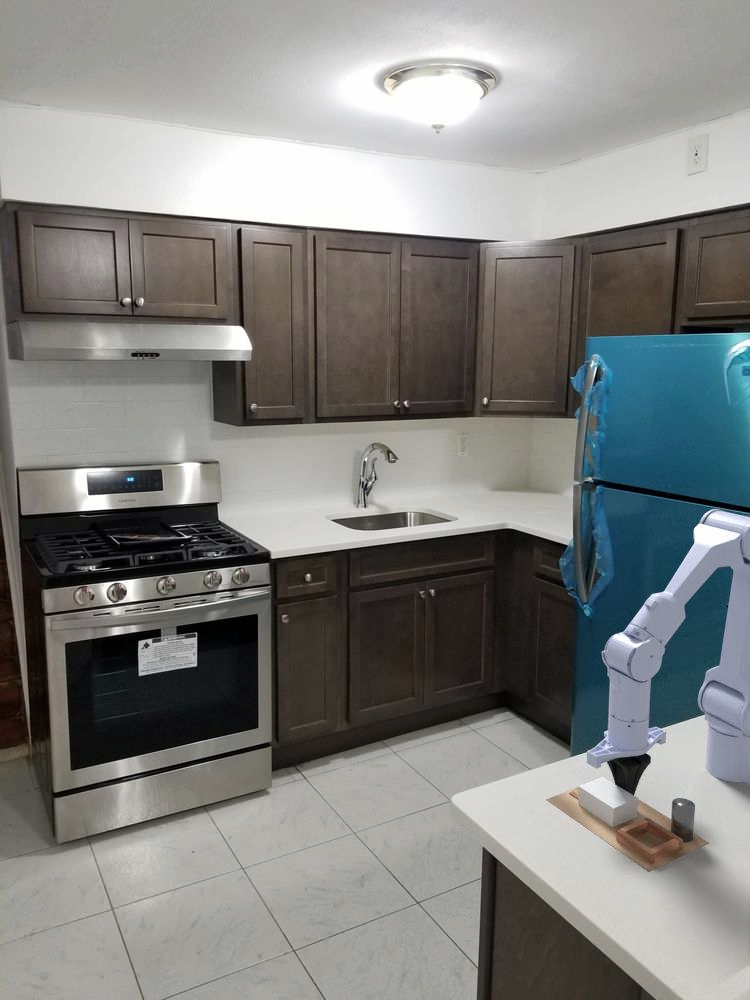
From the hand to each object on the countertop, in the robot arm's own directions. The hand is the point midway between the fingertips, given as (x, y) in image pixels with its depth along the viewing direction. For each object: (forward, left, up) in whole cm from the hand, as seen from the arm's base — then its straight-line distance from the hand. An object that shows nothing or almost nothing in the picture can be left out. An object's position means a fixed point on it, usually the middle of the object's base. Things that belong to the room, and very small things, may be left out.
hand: (625, 797), depth 121 cm
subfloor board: (+3, +3, -2) cm, 5 cm away
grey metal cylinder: (-1, +10, -1) cm, 10 cm away
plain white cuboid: (+4, 0, -1) cm, 4 cm away
